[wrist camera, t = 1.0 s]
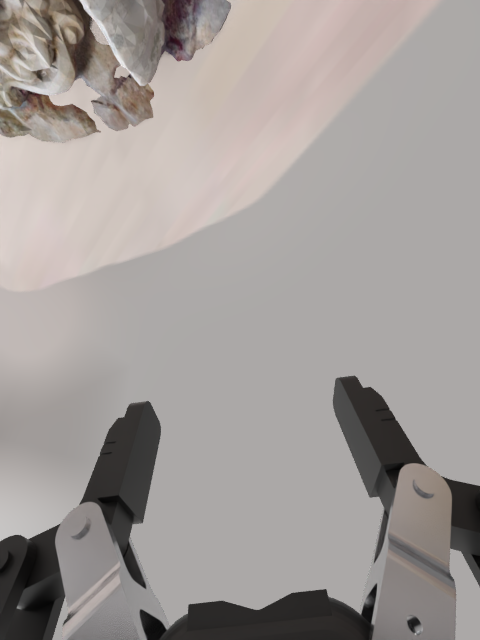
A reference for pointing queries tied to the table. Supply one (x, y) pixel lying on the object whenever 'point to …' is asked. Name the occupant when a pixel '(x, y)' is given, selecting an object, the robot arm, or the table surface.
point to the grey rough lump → (92, 58)
